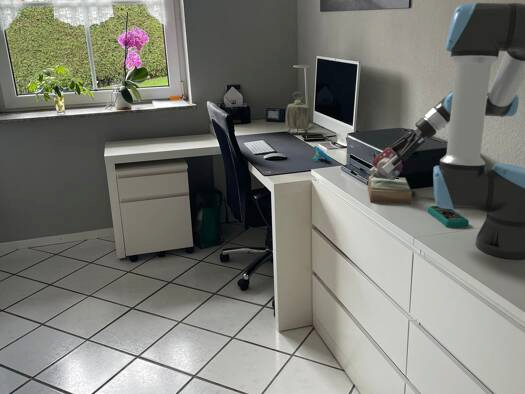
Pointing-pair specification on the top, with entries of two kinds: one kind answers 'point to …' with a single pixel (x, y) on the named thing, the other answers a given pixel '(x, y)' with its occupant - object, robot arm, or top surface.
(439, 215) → the digital multimeter
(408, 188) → the walnut stand
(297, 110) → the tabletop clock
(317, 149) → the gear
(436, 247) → the top surface
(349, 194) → the top surface
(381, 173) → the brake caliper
